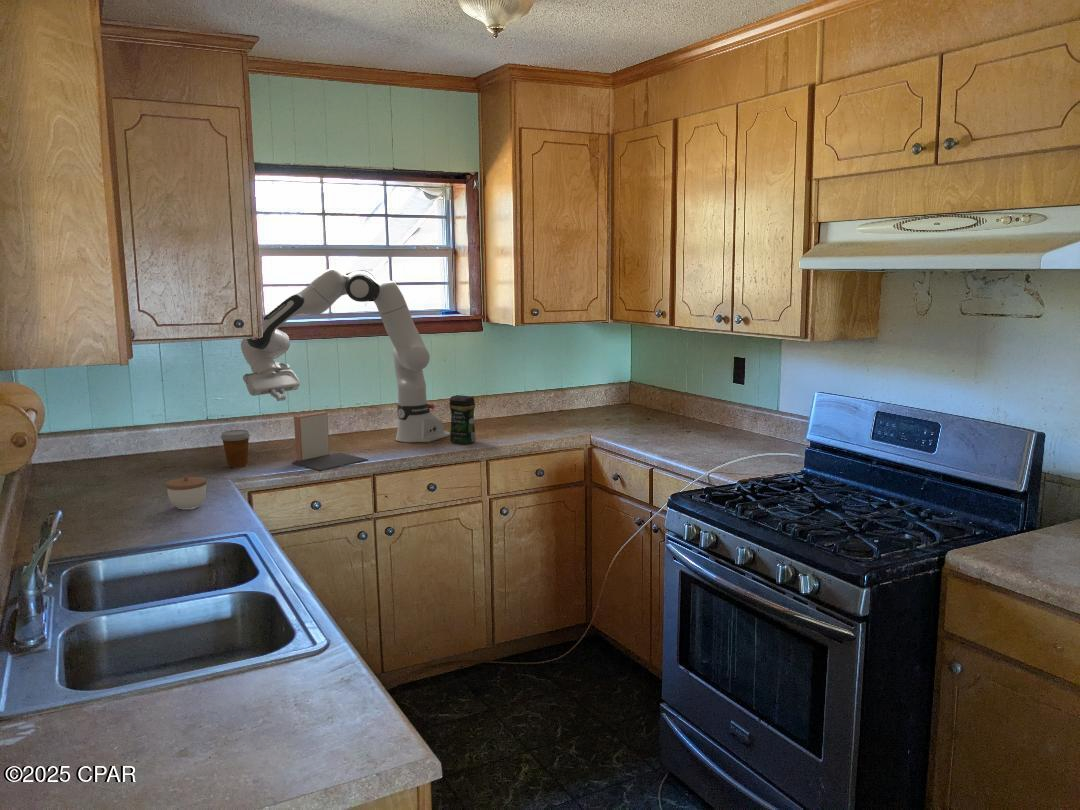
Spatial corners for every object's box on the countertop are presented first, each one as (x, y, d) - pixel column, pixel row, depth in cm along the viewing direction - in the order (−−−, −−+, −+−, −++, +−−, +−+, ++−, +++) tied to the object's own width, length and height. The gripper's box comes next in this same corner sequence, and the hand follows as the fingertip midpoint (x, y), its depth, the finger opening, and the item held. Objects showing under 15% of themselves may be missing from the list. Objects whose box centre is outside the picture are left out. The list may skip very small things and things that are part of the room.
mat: (339, 453, 308) (339, 452, 308) (368, 460, 297) (367, 459, 297) (292, 463, 293) (292, 462, 293) (320, 471, 282) (320, 469, 282)
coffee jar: (446, 443, 323) (445, 396, 320) (458, 439, 330) (457, 393, 327) (467, 445, 319) (466, 397, 316) (478, 441, 326) (477, 394, 323)
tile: (324, 454, 307) (322, 411, 304) (330, 455, 305) (327, 412, 302) (296, 460, 298) (293, 416, 295) (301, 461, 296) (299, 417, 293)
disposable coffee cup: (228, 470, 284) (226, 436, 282) (219, 465, 291) (216, 432, 289) (256, 466, 290) (253, 432, 288) (246, 461, 297) (243, 428, 295)
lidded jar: (196, 499, 249) (193, 469, 247) (215, 506, 242) (212, 474, 241) (161, 508, 241) (158, 476, 239) (180, 514, 234) (177, 482, 233)
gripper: (243, 369, 305) (259, 398, 301) (292, 363, 320) (308, 391, 316) (238, 380, 309) (253, 408, 304) (286, 374, 324) (302, 401, 319)
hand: (282, 399), depth 310 cm, fingers closed
